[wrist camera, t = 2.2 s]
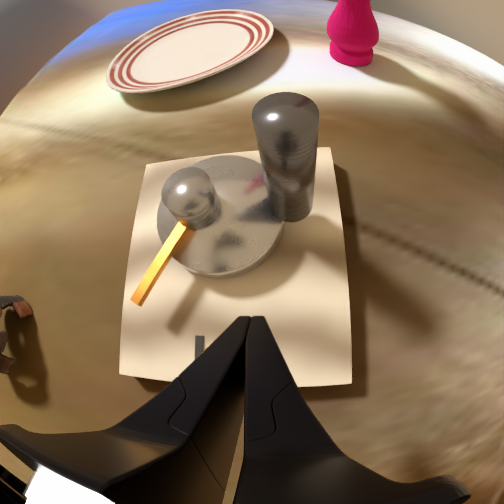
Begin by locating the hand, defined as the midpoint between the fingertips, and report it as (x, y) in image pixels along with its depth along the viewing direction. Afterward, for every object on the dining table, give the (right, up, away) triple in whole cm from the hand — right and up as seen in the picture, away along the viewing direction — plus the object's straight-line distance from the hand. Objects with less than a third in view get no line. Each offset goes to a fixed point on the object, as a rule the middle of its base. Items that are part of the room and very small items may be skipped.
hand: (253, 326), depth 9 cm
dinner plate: (-10, +34, +29) cm, 46 cm away
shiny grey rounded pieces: (-2, +4, +14) cm, 14 cm away
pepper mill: (+14, +30, +24) cm, 41 cm away
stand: (-2, +2, +15) cm, 15 cm away
